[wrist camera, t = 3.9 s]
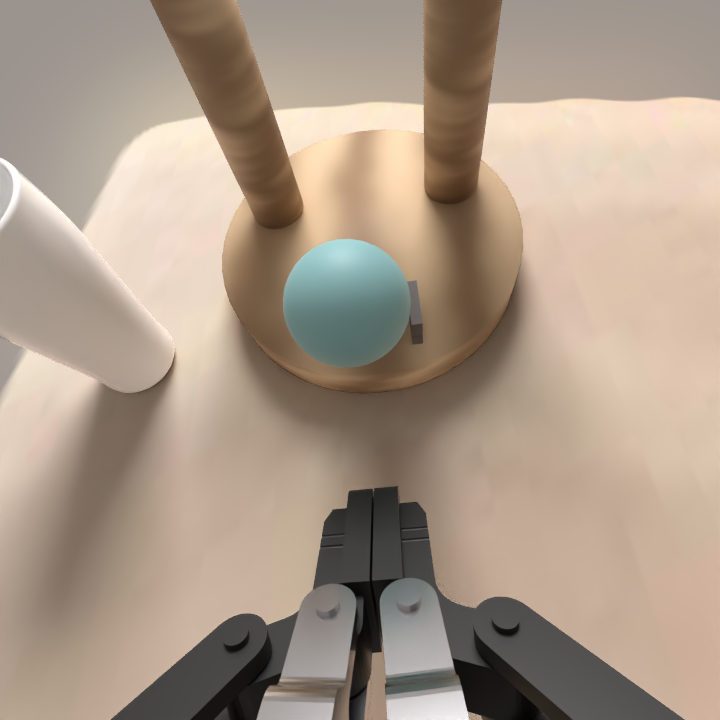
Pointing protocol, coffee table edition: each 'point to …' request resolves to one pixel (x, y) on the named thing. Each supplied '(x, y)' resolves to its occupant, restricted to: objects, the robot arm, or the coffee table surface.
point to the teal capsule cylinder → (346, 303)
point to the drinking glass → (71, 295)
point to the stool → (364, 193)
